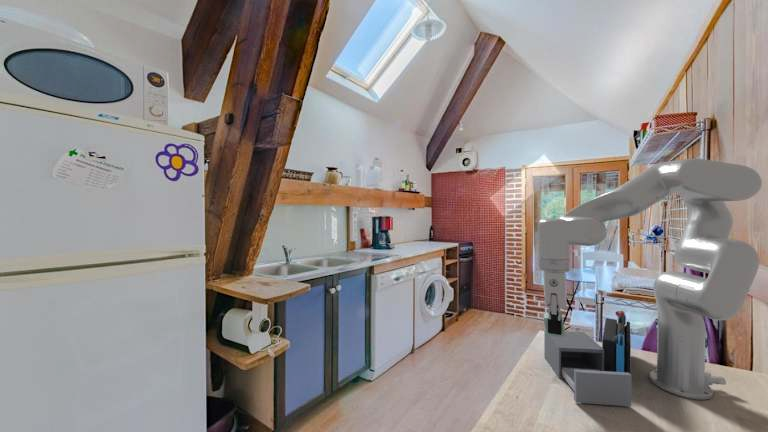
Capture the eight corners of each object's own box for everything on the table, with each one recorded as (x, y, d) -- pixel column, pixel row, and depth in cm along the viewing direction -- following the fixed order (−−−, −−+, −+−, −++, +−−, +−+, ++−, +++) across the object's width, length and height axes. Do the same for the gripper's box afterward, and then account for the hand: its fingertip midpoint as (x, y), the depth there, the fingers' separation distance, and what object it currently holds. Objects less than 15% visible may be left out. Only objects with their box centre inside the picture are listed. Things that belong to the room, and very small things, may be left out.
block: (565, 331, 85) (561, 313, 85) (565, 337, 81) (561, 318, 81) (547, 330, 87) (543, 313, 87) (546, 336, 83) (543, 318, 84)
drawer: (631, 406, 77) (631, 375, 76) (576, 402, 79) (576, 371, 78) (603, 377, 89) (603, 350, 89) (556, 374, 91) (556, 348, 91)
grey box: (603, 381, 88) (604, 349, 88) (558, 378, 90) (558, 347, 90) (583, 359, 100) (584, 332, 100) (544, 357, 102) (544, 330, 102)
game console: (630, 394, 82) (630, 341, 82) (601, 386, 86) (601, 335, 86) (629, 352, 104) (629, 310, 104) (606, 347, 108) (606, 306, 108)
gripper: (570, 271, 74) (571, 346, 75) (569, 259, 89) (570, 321, 90) (536, 269, 78) (537, 340, 79) (540, 257, 92) (541, 317, 93)
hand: (554, 329), depth 84 cm, fingers closed on block, 3 cm apart
